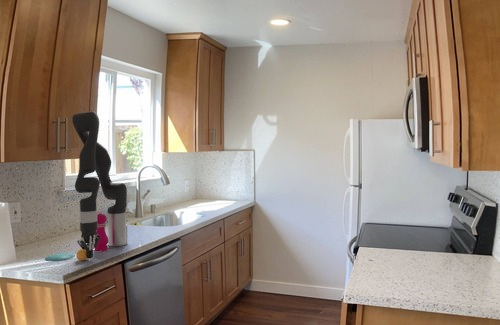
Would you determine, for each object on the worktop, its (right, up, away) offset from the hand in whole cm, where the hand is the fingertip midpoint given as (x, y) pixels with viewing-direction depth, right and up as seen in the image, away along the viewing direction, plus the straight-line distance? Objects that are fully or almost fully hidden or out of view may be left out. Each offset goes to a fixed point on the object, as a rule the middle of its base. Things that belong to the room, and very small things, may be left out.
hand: (89, 257), depth 190 cm
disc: (-17, -1, +7) cm, 18 cm away
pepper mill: (-2, -1, +20) cm, 20 cm away
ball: (-4, +1, +1) cm, 4 cm away
